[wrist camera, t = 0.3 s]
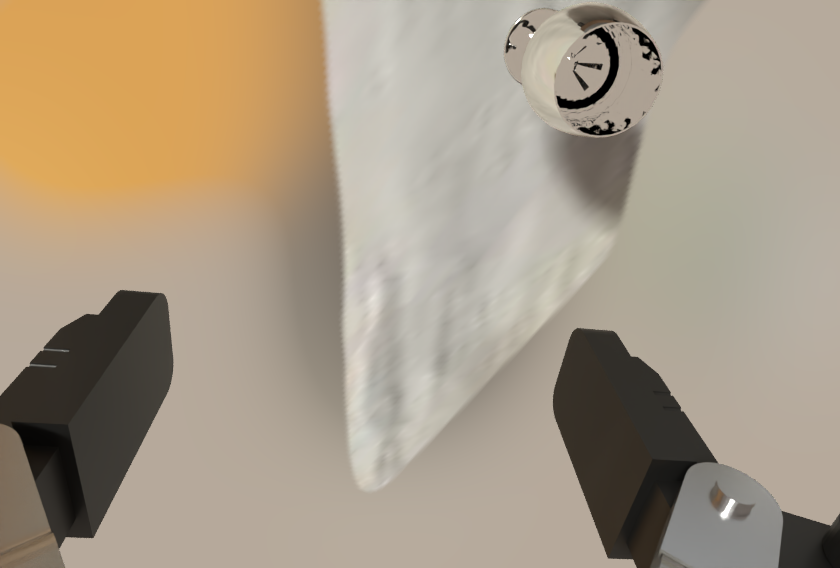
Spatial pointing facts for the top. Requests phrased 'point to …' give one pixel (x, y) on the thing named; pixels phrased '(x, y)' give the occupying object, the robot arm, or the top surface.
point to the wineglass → (585, 67)
